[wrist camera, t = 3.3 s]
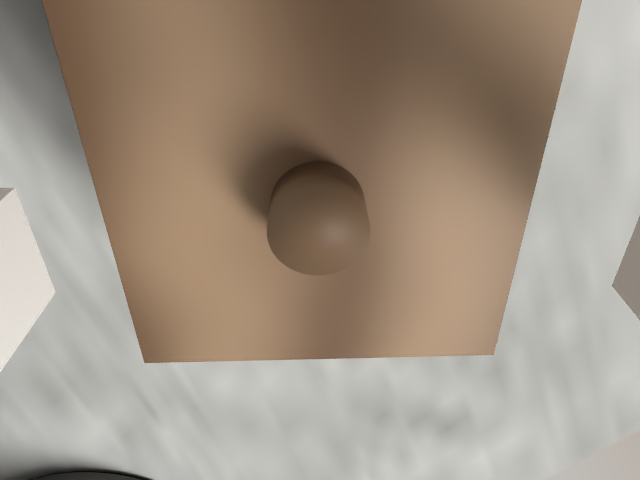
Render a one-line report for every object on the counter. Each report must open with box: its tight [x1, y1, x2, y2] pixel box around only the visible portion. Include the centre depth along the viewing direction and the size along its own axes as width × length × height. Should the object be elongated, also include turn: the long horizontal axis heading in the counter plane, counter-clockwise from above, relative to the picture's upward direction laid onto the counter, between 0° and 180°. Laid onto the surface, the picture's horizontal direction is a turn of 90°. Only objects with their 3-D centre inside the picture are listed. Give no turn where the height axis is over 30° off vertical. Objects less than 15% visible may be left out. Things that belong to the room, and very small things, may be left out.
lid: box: [42, 0, 582, 363], centre depth 13 cm, size 11×11×4 cm
